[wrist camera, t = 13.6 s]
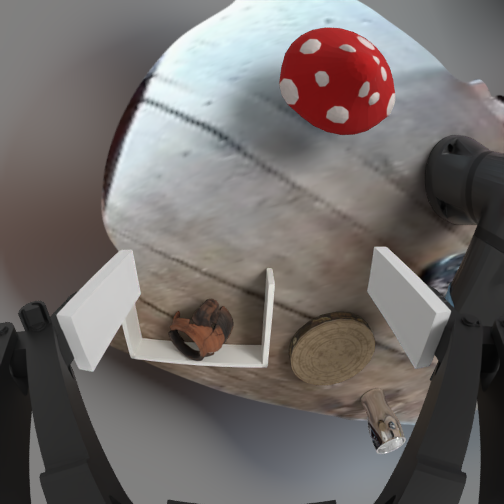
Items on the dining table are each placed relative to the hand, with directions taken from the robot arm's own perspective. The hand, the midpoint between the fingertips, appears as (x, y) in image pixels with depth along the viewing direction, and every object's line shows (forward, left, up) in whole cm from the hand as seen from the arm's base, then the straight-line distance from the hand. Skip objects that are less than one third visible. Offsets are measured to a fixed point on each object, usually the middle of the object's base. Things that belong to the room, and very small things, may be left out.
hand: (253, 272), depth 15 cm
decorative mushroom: (-10, -15, -27) cm, 32 cm away
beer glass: (-30, +45, -27) cm, 60 cm away
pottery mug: (+7, +21, -27) cm, 35 cm away
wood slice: (-16, +28, -27) cm, 42 cm away
